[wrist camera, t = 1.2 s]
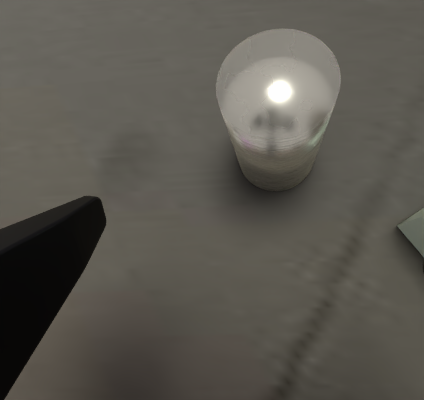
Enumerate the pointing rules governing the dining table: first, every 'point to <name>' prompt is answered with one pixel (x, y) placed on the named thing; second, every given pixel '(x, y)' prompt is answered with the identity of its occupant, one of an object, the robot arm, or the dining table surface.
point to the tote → (414, 230)
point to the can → (278, 104)
